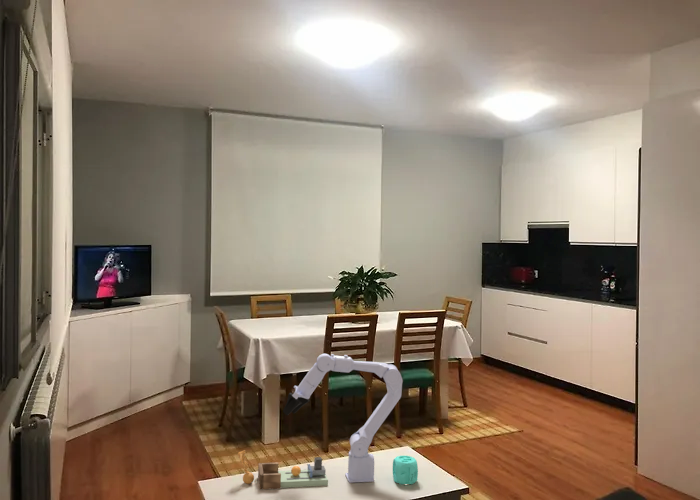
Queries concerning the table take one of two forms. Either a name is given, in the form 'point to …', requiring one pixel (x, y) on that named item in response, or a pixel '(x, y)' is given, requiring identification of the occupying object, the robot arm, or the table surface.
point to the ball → (295, 470)
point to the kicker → (316, 468)
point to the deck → (301, 479)
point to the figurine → (248, 476)
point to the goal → (269, 476)
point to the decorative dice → (405, 470)
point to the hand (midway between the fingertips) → (288, 412)
